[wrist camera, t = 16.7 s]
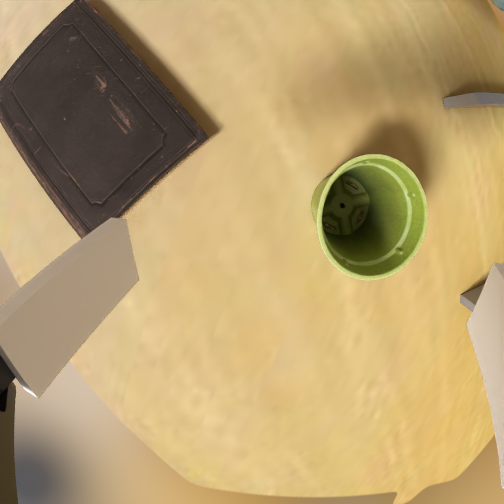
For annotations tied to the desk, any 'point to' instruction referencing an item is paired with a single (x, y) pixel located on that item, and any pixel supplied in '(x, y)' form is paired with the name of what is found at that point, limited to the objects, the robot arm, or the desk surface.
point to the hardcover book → (92, 118)
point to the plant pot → (371, 216)
